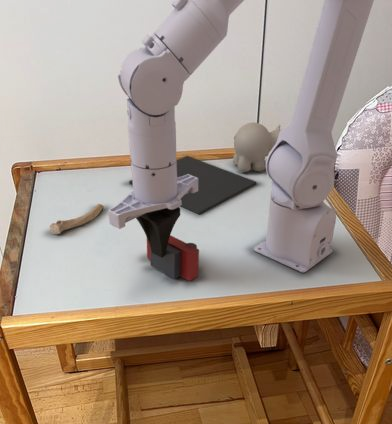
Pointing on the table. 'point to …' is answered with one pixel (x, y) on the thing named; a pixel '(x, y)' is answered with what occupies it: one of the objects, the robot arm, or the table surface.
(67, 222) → the bone
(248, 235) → the table surface
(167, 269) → the toy car
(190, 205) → the mat
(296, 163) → the robot arm
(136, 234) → the table surface
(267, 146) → the toy rhinoceros
